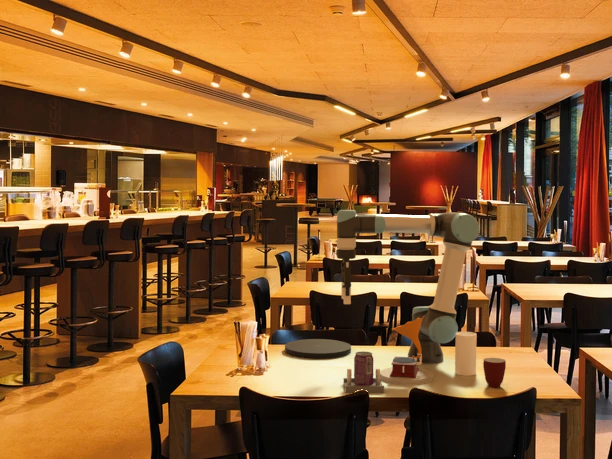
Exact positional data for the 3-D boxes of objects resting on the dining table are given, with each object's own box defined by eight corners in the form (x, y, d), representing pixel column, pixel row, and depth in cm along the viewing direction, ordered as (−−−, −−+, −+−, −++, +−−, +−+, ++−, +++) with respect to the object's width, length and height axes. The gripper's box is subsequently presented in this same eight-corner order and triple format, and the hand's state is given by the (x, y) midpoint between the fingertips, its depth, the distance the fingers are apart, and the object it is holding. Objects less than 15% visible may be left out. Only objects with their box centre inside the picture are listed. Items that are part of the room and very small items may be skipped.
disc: (362, 350, 350) (362, 343, 350) (329, 362, 325) (329, 356, 325) (307, 342, 366) (307, 336, 366) (271, 354, 341) (271, 347, 341)
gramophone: (433, 373, 307) (434, 311, 305) (430, 386, 287) (431, 320, 285) (383, 370, 311) (383, 309, 310) (376, 383, 292) (376, 318, 290)
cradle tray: (380, 384, 289) (380, 365, 289) (384, 392, 278) (384, 373, 277) (343, 384, 289) (343, 365, 289) (345, 392, 277) (345, 373, 277)
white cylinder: (477, 371, 309) (477, 332, 308) (474, 376, 301) (475, 336, 300) (456, 369, 312) (457, 331, 311) (453, 374, 304) (454, 334, 303)
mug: (476, 382, 292) (476, 356, 291) (495, 381, 294) (496, 355, 293) (489, 389, 282) (489, 363, 281) (509, 388, 283) (509, 362, 283)
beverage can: (374, 383, 286) (374, 351, 285) (372, 388, 279) (372, 355, 278) (355, 382, 288) (355, 350, 287) (352, 387, 281) (353, 354, 280)
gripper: (335, 246, 317) (335, 296, 318) (338, 251, 292) (338, 306, 294) (353, 245, 317) (353, 296, 319) (358, 251, 292) (357, 306, 294)
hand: (346, 301), depth 306 cm, fingers open, 13 cm apart
